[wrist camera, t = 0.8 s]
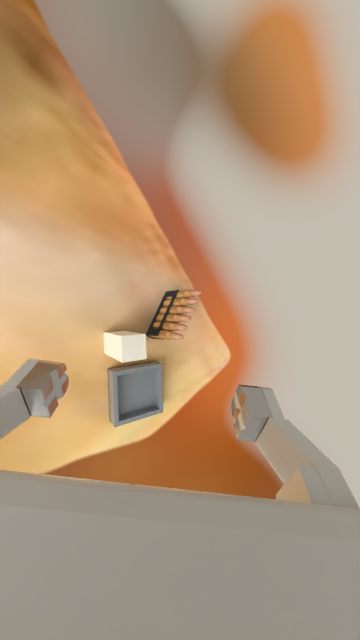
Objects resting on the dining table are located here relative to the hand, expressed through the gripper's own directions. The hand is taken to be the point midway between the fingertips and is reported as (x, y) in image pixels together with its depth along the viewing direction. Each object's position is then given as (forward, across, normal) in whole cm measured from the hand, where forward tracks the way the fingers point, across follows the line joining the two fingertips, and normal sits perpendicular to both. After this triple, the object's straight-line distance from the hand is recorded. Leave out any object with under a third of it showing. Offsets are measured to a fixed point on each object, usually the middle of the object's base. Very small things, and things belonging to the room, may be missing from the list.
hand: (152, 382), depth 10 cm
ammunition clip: (+34, +3, +16) cm, 38 cm away
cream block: (+26, +10, +19) cm, 34 cm away
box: (+22, +6, +28) cm, 37 cm away
